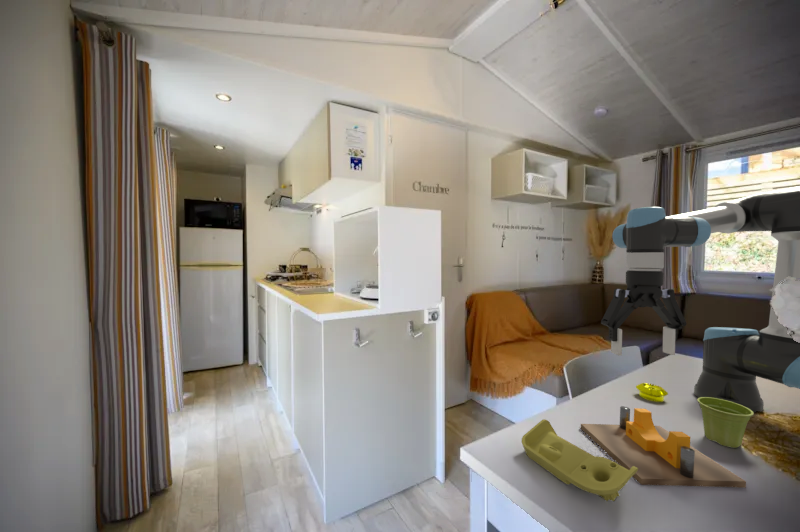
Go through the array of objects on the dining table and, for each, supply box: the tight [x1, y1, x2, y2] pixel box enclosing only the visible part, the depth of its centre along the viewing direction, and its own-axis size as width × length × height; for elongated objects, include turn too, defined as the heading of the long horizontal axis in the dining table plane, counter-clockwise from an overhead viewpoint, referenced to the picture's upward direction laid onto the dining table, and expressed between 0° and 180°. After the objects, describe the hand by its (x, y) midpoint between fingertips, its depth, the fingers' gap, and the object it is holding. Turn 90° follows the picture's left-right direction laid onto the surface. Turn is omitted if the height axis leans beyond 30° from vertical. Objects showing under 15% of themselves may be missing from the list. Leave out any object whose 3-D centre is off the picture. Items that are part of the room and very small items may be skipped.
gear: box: [635, 382, 669, 403], centre depth 100 cm, size 8×4×8 cm
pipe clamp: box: [626, 407, 692, 468], centre depth 69 cm, size 12×4×6 cm, turn 179°
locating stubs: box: [619, 405, 695, 478], centre depth 70 cm, size 2×19×5 cm, turn 0°
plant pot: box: [696, 397, 755, 449], centre depth 76 cm, size 9×9×9 cm
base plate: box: [580, 423, 747, 488], centre depth 70 cm, size 20×20×1 cm
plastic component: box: [521, 418, 638, 502], centre depth 62 cm, size 20×8×10 cm
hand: (642, 353), depth 79 cm, fingers open, 13 cm apart
